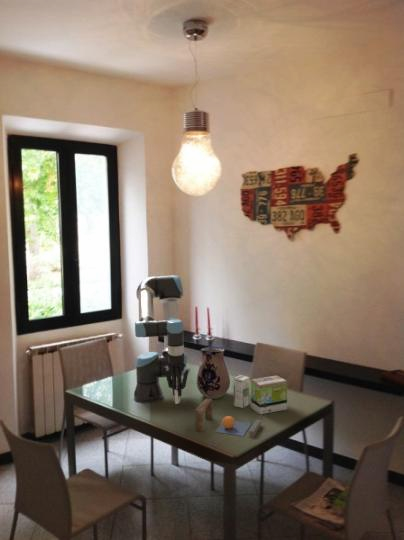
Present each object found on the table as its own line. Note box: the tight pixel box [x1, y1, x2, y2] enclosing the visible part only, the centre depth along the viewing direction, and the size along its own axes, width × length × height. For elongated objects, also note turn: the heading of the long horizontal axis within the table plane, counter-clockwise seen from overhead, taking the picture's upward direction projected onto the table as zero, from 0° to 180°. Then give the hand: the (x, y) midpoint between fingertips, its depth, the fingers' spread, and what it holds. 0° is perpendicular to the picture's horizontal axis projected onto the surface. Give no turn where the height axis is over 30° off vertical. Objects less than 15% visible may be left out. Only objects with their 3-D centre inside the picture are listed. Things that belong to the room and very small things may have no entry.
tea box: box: [250, 375, 288, 415], centre depth 238 cm, size 15×10×15 cm
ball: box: [221, 415, 235, 429], centre depth 218 cm, size 6×6×6 cm
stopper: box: [248, 419, 262, 438], centre depth 214 cm, size 2×12×2 cm, turn 159°
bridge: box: [194, 398, 214, 432], centre depth 223 cm, size 3×14×9 cm, turn 159°
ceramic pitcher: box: [196, 345, 231, 400], centre depth 258 cm, size 18×21×25 cm
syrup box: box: [233, 374, 250, 409], centre depth 243 cm, size 6×6×14 cm
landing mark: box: [214, 420, 252, 437], centre depth 218 cm, size 13×13×1 cm
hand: (177, 402), depth 228 cm, fingers closed
